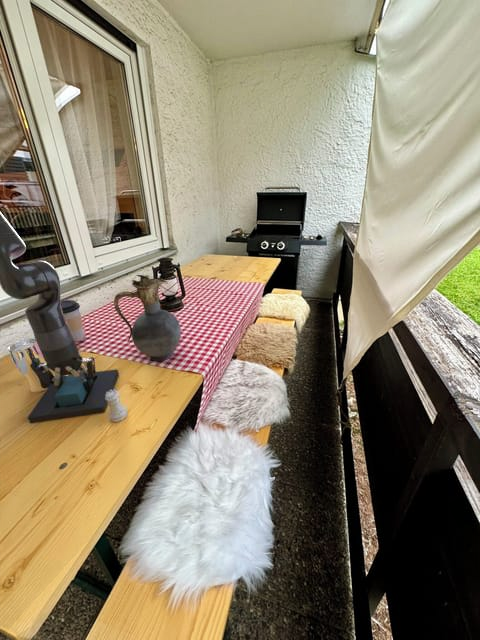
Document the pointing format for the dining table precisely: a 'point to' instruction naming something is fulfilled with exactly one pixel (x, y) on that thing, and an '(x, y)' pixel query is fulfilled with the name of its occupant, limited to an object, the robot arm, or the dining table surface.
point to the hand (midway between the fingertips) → (77, 391)
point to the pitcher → (151, 321)
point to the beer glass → (29, 362)
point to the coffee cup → (73, 318)
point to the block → (71, 392)
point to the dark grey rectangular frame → (93, 405)
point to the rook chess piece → (115, 406)
